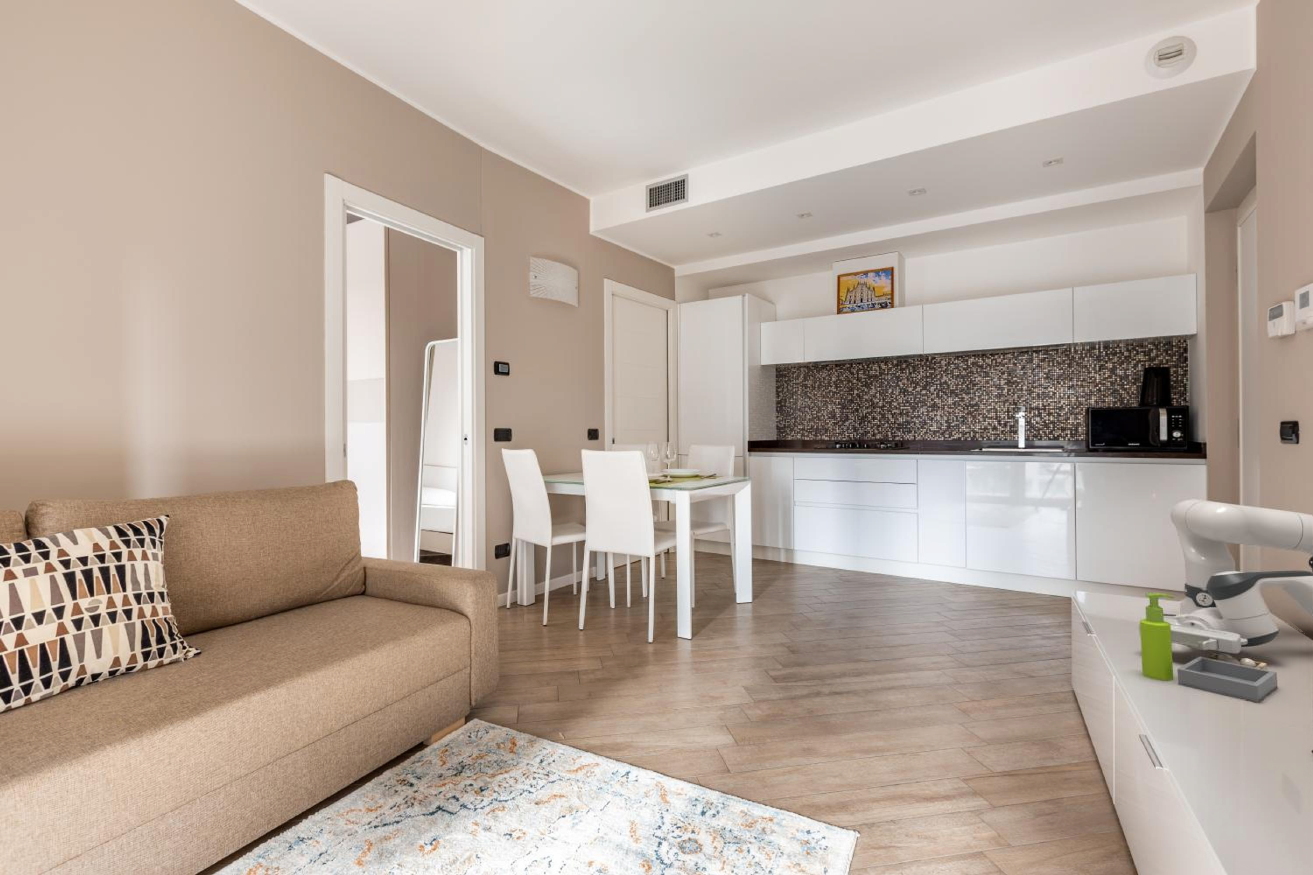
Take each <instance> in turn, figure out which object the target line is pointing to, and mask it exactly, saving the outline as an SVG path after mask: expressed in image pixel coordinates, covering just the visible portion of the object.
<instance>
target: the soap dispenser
mask: <svg viewBox="0 0 1313 875" xmlns="http://www.w3.org/2000/svg"><path fill="white" fill-rule="evenodd" d="M1144 595H1145V596H1144V597H1147V598H1149V599H1148V600H1149V605H1147V606H1145V618H1143V619H1140V620H1139V623H1140V634H1141V636H1140V650H1141V651H1140V652H1141V669H1142V671H1141V672H1142V675H1143V676H1144V677H1147V678H1149V679H1153V680H1158V681H1171V680H1173V679H1174V670H1173V668H1174V667H1173V665H1174V664H1173V650H1172V649H1173V648H1172V647H1173V646H1172V644H1173V643H1171V624H1170V623H1169V622H1166V621H1164V617H1163V614H1164V607H1161V606H1160V605H1159V598H1168V599H1169V598H1170V599H1174V598H1175V596H1174V595H1171V594H1167V593H1163V592H1149V593H1148V592H1147V593H1145V594H1144ZM1140 634H1139V635H1140Z"/></svg>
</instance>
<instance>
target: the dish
mask: <svg viewBox="0 0 1313 875" xmlns="http://www.w3.org/2000/svg"><path fill="white" fill-rule="evenodd" d="M1277 673H1278V672H1277V671H1272V670H1270V669H1267V670H1264V669H1259V668H1254V667H1249V666H1244V665H1239V664H1234V663H1229V662H1224V661H1219V660H1214V659H1209V658H1206V657H1203V656H1198V657H1195V659H1192V660H1191V661H1189V662H1187V663H1184V665H1182V666H1180V667H1178V668H1177V682H1178V684H1177V685H1179V686H1180V685H1181V686H1185V687H1189V688H1193V689H1198V690H1201V691H1207V692H1210V693H1214V694H1219V695H1222V696H1227V697H1231V698H1235V699H1239V698H1240V700H1244V699H1245V701H1248V700H1249V702H1252V701H1253V703H1257V704H1260V702H1263V700H1264V699H1265V698H1267V697H1268V696H1269V695H1271V694H1272V693H1273V692H1274V691H1276V690H1277V689H1278V674H1277Z"/></svg>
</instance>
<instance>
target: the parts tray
mask: <svg viewBox="0 0 1313 875" xmlns="http://www.w3.org/2000/svg"><path fill="white" fill-rule="evenodd" d="M1218 655H1219V653H1218V654H1217V653H1216V652H1215V653H1212V654H1210V655H1208V656H1206V657H1205V658H1209V659H1214V660H1218V659H1217V657H1218ZM1231 657H1232V658H1235V659H1237V660H1238V661H1240V660H1241V659H1242V658H1240V657H1234V656H1231ZM1253 661H1254V662H1255V664H1256V667H1255V668H1259V669H1264V670H1268V669H1267V666H1268V665H1267V662H1266V663H1265V662H1260V661H1255V660H1253Z"/></svg>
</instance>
